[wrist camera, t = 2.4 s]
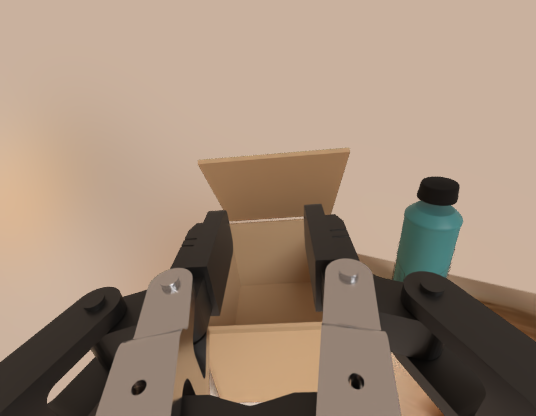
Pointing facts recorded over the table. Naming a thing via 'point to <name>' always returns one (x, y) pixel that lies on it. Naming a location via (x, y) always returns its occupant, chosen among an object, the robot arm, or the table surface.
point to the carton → (266, 316)
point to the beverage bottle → (429, 229)
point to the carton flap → (276, 182)
